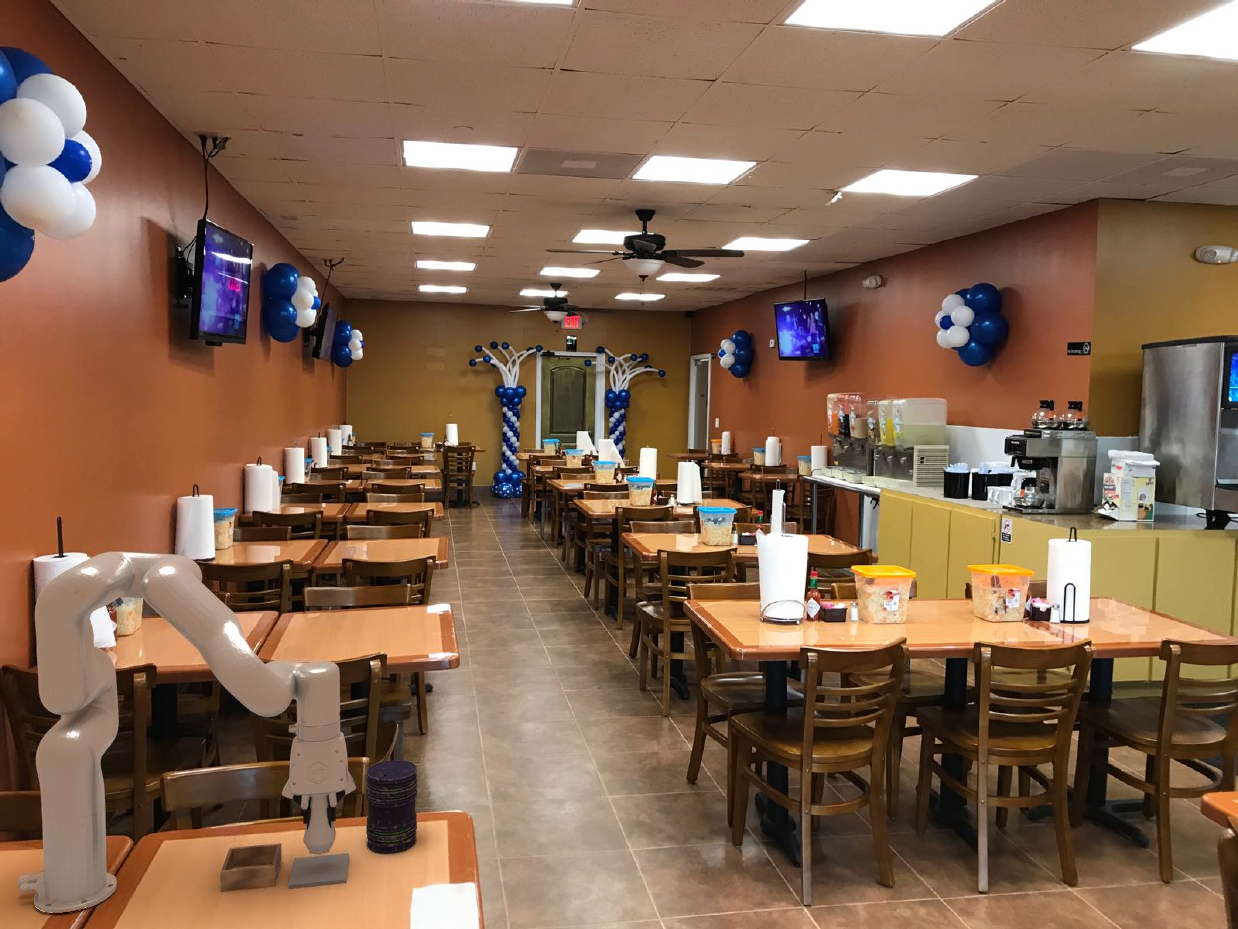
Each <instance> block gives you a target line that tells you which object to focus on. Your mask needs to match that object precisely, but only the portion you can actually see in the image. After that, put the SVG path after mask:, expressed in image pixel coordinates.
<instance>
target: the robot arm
mask: <svg viewBox="0 0 1238 929" xmlns="http://www.w3.org/2000/svg"><path fill="white" fill-rule="evenodd" d="M202 581H203V573H202V570H201V568H200V566H199V565H198V563H196V561H195V560H193V559H192V558H189V557H188V556H185V555H182V554H172V553H170V554H169V553H148V552H131V551H107V552H102V553H99V554H97V555H94V556H92V557H91V558H89V559H86V560H84V561H82V562H80V563H78V564H76V565H74V566H73V567H70V568H68V569H66V570H64V571H62V572H61V573H59V574H58V575H57V576H55V577H54V578H52V579H51V580H50V581H48V583H47V584H46V585H45V586H44V587H43V589H42V590H41V591H40V593H39V595H38V597H37V599H36V604H35V608H34V626H35V636H36V638H35V639H36V658H37V659H36V661H37V676H38V680H37V681H38V694H39V698H40V702H41V703H42V705H43V707H44V708H45V709H46V710H47V711H48V712H50V713H51V714H55V715H60V719H59V720H58V721H57V722H56V723H55V724H54V725H53V726H52V727H51V728H50V729H49V730H48V731H47V732H46V733H45V734H44V736H43V737H42V739H41V740H40V742H39V745H38V746H37V749H36V753H35V754H36V755H35V767H36V772H37V777H38V783H39V787H40V802H41V817H42V818H41V820H42V822H41V823H42V852H43V853H42V854H43V855H42V857H43V859H42V860H43V871H40V872H39V873H36V874H30V873H29V874H22V875H18V876H19V877H18V879H17V887H18V888H19V892H20V893H28V892H35V895H34V896H33V906H34V905H35V906H36V907H37V908H39V909H40V910H43V911H45V912H50V913H51V912H61V911H70V910H76V909H79V908H81V907H88V908H87V909H89V908H92V907H93V906H96V905H98V904H100V903H102V902H104V901H105V900H107V899H109V897H111V896H112V895H113V894H114V892H115V891H116V890H117V887H118V886H117V884H118V879H117V876H115V875H114V874H112V873H110V872H107V832H106V831H107V830H106V826H107V825H106V799H105V798H106V794H105V790H106V789H105V783H104V778H103V772H102V768H101V766H102V765H101V760H102V756H103V755H104V754H105V753H106V751H107V750H108V748H109V747H110V746H111V745H112V744H113V742H114V741H115V739H116V737H117V735H118V734H117V733H118V731H119V702H118V700H119V699H118V688H117V672H116V668H115V665H114V662H113V660H112V658H111V656H110V655H109V654H108V653H107V652H106V651H105V650H103V649H102V648H100V647H97V646H95V634H94V628H93V625H92V621H91V616H92V614H93V613H94V612H95V611H97V610H99V609H101V608H104V607H106V606H108V605H109V604H111V603H113V602H115V601H116V600H117V599H119V598H128V599H129V598H132V599H133V598H135V599H143V600H144V601H145V602H146V603H147V605H148V606H149V607H151V608H152V609H153V610H154V611H155V613H156V614H158V615H159V616H160V617H161V618H162V619H164V620H165V622H167V623H168V624H169V625H170V626H171V627H173V628H174V629H175V630H176V631H177V632H178V633H179V634H180V635H181V636H183V637H184V639H186V641H187V642H188V643H190V644H191V645H192V647H194V648H195V649H196V650H197V651H198V652H199V654H200V656H201V657H202V659H203V661H204V663H206V665H207V666H208V668H209V669H210V670H211V672H212V674H213V675H214V676H215V677H216V679H217V680H218V682H219V683H220V684H221V685H222V686H223V687H224V688H225V689H226V690H227V691H228V693H230V694H231V695H232V696H233V697H234V698H235V699H236V700H237V701H239V702H240V703H241V704H242V705H243V706H244V707H246V709H247V710H249V711H250V712H252V713H254V714H256V715H258V716H261V717H266V718H270V717H276V716H279V715H280V714H282V713H283V712H285V711H286V710H287V708H288V707H289V706H290V704H291V702H292V700H296V721H297V722H296V723H294V724H290V725H288V733H291V734H292V733H293V734H295V735H296V736H295V737H294V738H293V740H292V744H291V749H290V760H289V778H288V780H287V782H286V783H285V785H284V787H283V789H282V792H281V795H282V796H283V797H285V798H287V799H292V801H294V802H295V803H296V804H297V805H299V806H300V809H301V810H302V821H303V822H302V823H303V825H306V824H307V830H308V828H309V825H310V819H311V809H310V798H311V797H310V796H309V795H313V794H325V793H329V807H328V808H327V818H328V824H329V827H330V828H331V826H332V821H334V822H336V821H337V805H338V803H339V802H340V801H341V800H343V798H344V797H345V796H346V795H348V794H350V793H352V792H353V791H355V790H356V789H357V783H356V781H355V780H354V778H353V777H352V775H351V774H350V772H349V763H348V762H349V761H348V751H347V750H348V749H347V744H346V739H345V734H344V733H343V732H342V731H341V696H340V695H341V694H340V693H341V689H340V687H341V685H340V680H341V678H340V677H341V676H340V667H339V666H338V665H337V664H336V663H335V662H333V661H328V660H314V661H310V662H301V661H292V660H272V661H267V663H264V661H262V659H261V658H259V656H258V655H257V654H256V653H255V652H254V651H253V649H252V648H251V646H250V645H249V643H248V642H247V640H246V637H245V636H244V633H243V629H242V626H241V623H240V620H239V619H238V616H237V615H236V614H235V612H234V611H233V610H232V609H231V608H230V607H228V606H227V605H226V604H225V603H224V602H223V601H222V600H220V598H218V597H217V596H216V595H215V594H214V593H213V592H212V591H211V590H210V589H209V588H208V587H207V586H206V585H205V584H204V583H202Z"/></svg>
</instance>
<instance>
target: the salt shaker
mask: <svg viewBox="0 0 1238 929" xmlns="http://www.w3.org/2000/svg"><path fill="white" fill-rule="evenodd" d="M309 796H310V798H309V800H310V809H311V819H310V825H309V828H308V830H307V824H305V828H304V834H303V838H302V840H303V843H304V845H305V847H306V848H307V850H308V852H309V854H311V855H316V856H321V855H323V854H326V853H328V852H330V851H331V849H332V847H333V845H334V842H335V841H336V838H337V837H336V836H337V831H336V826H335V821H332V826H331V828H330V827H329V824H328V818H327V808H328V807H329V793H325V794H313V795H309Z"/></svg>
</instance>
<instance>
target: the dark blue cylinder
mask: <svg viewBox="0 0 1238 929" xmlns="http://www.w3.org/2000/svg"><path fill="white" fill-rule="evenodd" d="M417 770H418V769H417V765H416V764H415V763H413V762H411V761H408V760H400V759H398V760H397V759H393V760H386V761H381V762H377V763H375V764H372V765H371V766H370V767H368V768H367V770H366V784H365V786H366V795H365V796H366V800H367V817H366V827H365V830H366V831H365V833H366V847H368V848H367V849H368V850H369V851H370V852H372V853H374V852H375V853H374V854H377V853H378V854H377V855H396V853H397V854H400V853H403V852H406V851H409V850H410V849H413V847H414V846H415V845H416V843H417V829H418V822H417V818H418V816H417V812H416V798H417V794H418V790H417V789H418V779H417V776H418V775H417Z"/></svg>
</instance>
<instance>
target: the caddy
mask: <svg viewBox="0 0 1238 929" xmlns="http://www.w3.org/2000/svg"><path fill="white" fill-rule="evenodd" d="M282 857H283V856H282V842H279V843H268V844H266V843H265V844H259V845H258V844H257V845H255V844H254V845H248V846H247V845H245V846H235V847H234V846H233V847H229V849H228V852H227V855H226V856H225V859H224V862H223V865H222V867H221V870H220V877H219V879H220V880H219V882H220V892H226V891H227V892H228V891H236V890H237V891H239V890H245V889H246V890H247V889H259V888H267V887H275V886H276V884H277V881H276V880H278V876H279V873H280V872H279V871H280V869H281V868H280V867H281V865H282ZM267 863H270V864H272V865H269V866H259V865H268V864H267ZM247 866H256V867H247ZM257 866H258V867H257ZM237 867H243V868H237ZM244 867H245V868H244ZM233 868H234V869H233Z"/></svg>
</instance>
